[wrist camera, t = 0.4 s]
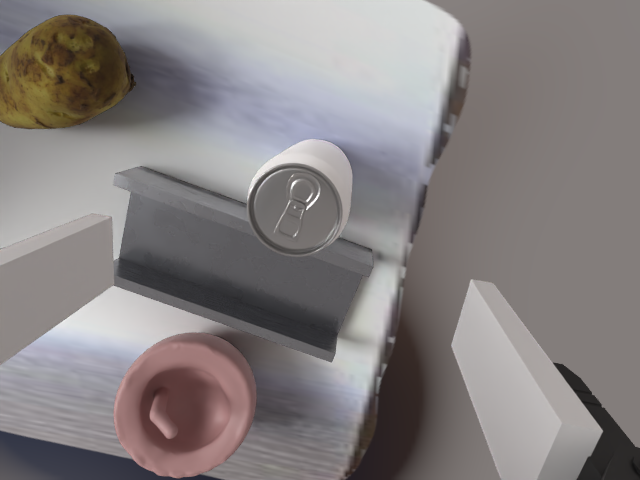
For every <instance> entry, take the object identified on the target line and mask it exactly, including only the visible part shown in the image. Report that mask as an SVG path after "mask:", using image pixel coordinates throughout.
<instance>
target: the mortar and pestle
mask: <svg viewBox="0 0 640 480" xmlns="http://www.w3.org/2000/svg"><path fill="white" fill-rule="evenodd" d="M256 401H257V391H256V383H255V379H254V375H253V372H252V370H251V368H250V365H249V364H248V362H247V360H246V359H245V357H244V356H243V355H242V354H241V352H240V351H239V350H238V349H237V348H235V347H234V346H233V345H232V344H230V343H229V342H227V341H226V340H224V339H222V338H219V337H217V336H214V335H210V334H206V333H183V334H178V335H175V336H171V337H169V338H166V339H164V340H162V341H160V342H158V343H156V344H154V345H153V346H152V347H150V348H149V349H147V350H146V351H145V352H144V353H143V354H142V355H140V356H139V357H138V359H137V360H136V361H135V362H134V363H133V364H132V365H131V367H130V368H129V370H128V371H127V373H126V374H125V376H124V378H123V380H122V382H121V384H120V386H119V389H118V392H117V395H116V399H115V406H114V424H115V430H116V434H117V436H118V439H119V441H120V444H121V445H122V446H123V448H125V449H126V451H127V452H128V453H129V454H130V455H131V456H132V458H133V460H134V461H136V462H137V463H138V464H139V465H140V466H142V467H144V468H145V469H147V470H150V471H153V472H155V473H156V474H157V475H159V476H171V477H174V478H182V477H190V476H196V475H198V474H200V473H204V472H207V471H210V470H211V469H213V468H214V467H217V466H218V465H220V464H221V463H223V462H224V461H226V460H227V459H228V458H229V457H230V456H231V455H232V454H233V453H234V452H235V451H236V450H237V448H238V447H239V446H240V445H241V443H242V442H243V440H244V439H245V437H246V435H247V433H248V431H249V429H250V427H251V424H252V421H253V418H254V415H255V409H256Z"/></svg>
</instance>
